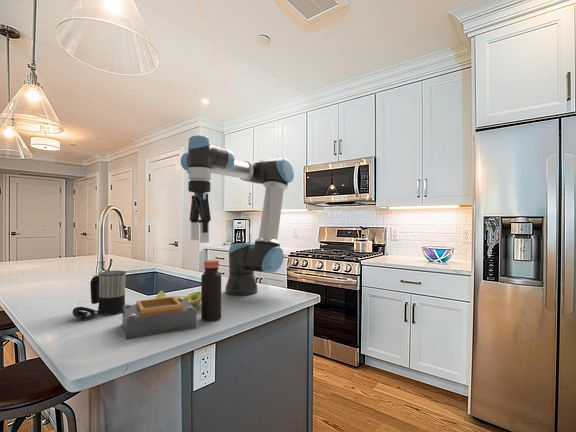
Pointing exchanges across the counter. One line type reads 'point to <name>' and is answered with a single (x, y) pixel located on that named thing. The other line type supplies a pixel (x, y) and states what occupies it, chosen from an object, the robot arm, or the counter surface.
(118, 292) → the milk frother
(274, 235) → the robot arm
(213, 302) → the vinegar
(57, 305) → the counter surface
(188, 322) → the gray fixture block
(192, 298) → the yellow-green irregular piece
